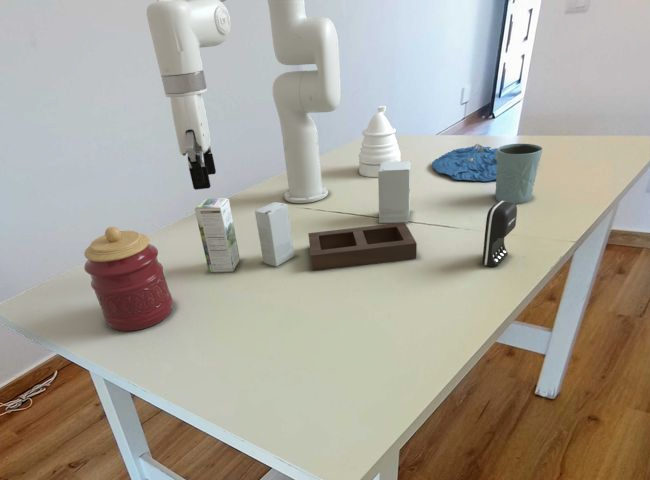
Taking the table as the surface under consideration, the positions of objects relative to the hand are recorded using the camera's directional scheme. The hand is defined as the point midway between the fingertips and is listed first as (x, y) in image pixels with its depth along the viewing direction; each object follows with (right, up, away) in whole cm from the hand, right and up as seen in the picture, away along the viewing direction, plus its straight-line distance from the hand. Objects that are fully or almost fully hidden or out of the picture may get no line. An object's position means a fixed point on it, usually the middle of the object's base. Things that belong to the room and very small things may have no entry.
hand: (205, 181), depth 99 cm
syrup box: (+2, -15, +11) cm, 19 cm away
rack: (+32, -12, +10) cm, 36 cm away
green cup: (+72, +5, +28) cm, 78 cm away
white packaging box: (+42, -1, +25) cm, 48 cm away
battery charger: (+58, -16, +1) cm, 60 cm away
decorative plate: (+73, +21, +50) cm, 91 cm away
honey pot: (+42, +23, +57) cm, 75 cm away
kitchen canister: (-12, -27, -2) cm, 29 cm away
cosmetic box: (+14, -14, +11) cm, 23 cm away
